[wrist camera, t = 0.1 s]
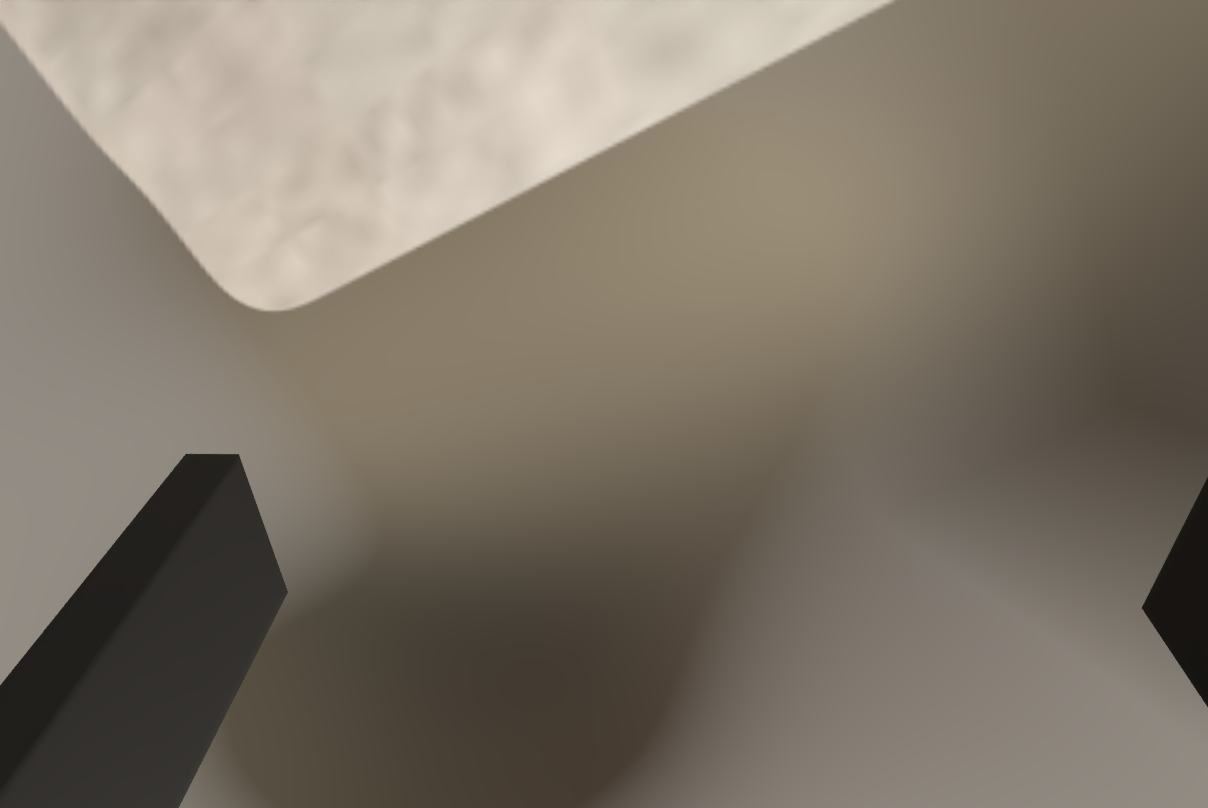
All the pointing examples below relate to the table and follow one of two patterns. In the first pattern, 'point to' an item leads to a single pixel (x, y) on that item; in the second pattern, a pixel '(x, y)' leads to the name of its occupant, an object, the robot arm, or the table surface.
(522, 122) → the table surface
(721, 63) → the table surface
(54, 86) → the table surface
